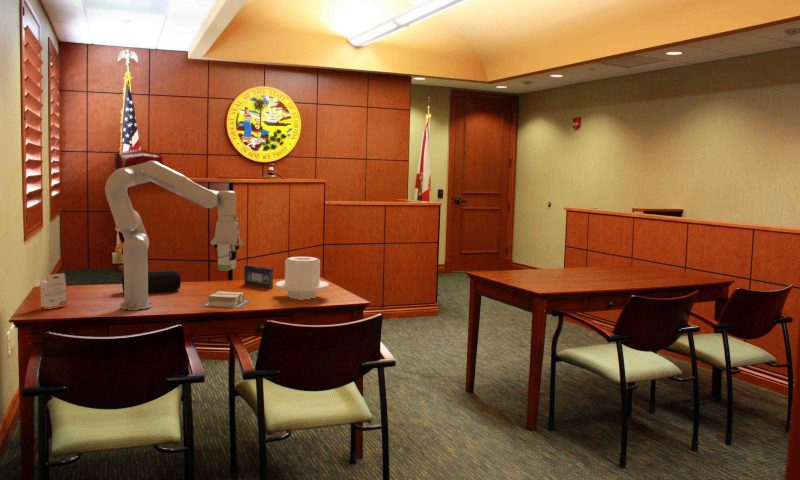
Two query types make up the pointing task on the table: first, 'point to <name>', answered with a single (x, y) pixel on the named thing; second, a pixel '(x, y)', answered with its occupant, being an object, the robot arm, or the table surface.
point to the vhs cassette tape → (258, 276)
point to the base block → (226, 298)
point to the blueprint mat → (228, 306)
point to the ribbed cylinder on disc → (302, 278)
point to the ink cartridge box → (53, 290)
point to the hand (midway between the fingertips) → (227, 259)
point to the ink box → (225, 257)
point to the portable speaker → (161, 281)
